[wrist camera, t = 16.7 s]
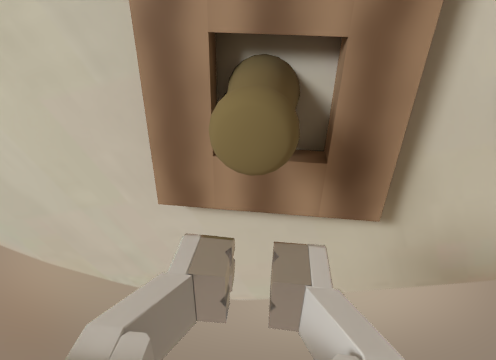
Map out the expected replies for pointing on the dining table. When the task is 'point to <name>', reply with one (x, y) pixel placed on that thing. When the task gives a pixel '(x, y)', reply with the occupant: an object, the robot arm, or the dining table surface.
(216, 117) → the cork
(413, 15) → the walnut dock
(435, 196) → the dining table surface
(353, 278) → the dining table surface
